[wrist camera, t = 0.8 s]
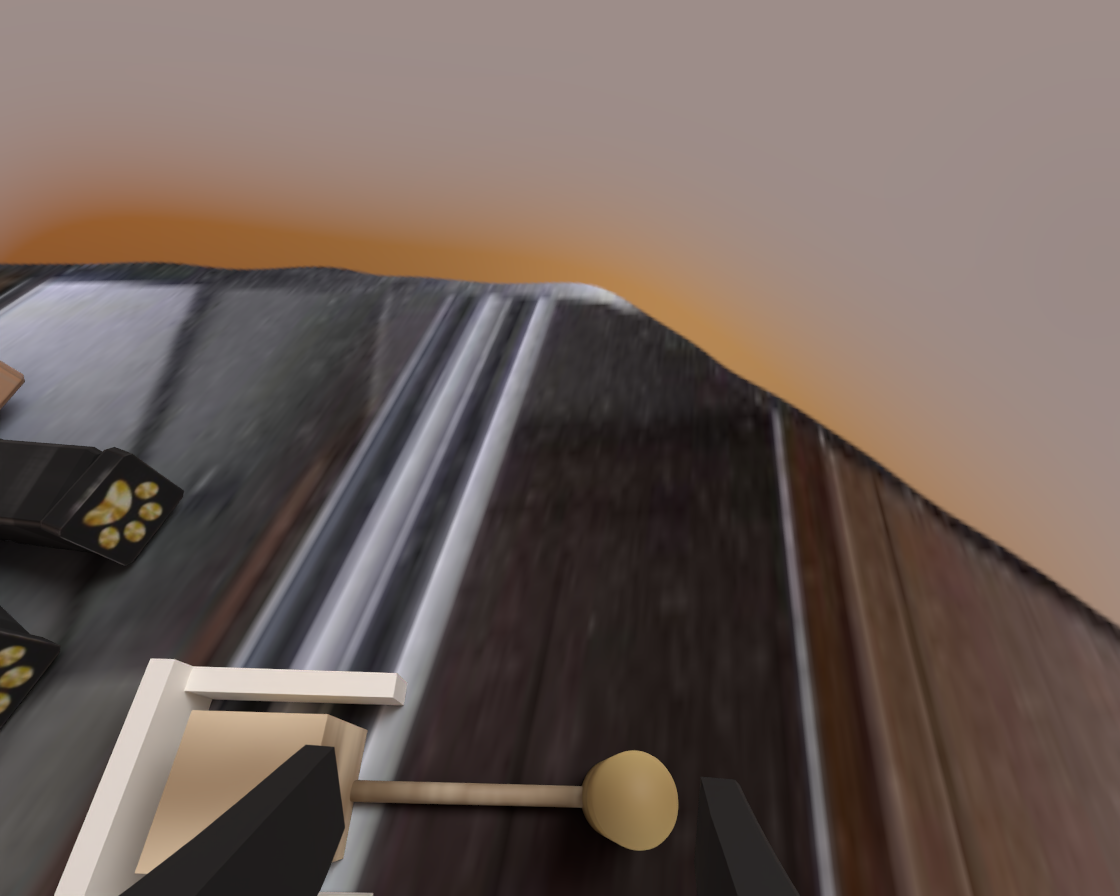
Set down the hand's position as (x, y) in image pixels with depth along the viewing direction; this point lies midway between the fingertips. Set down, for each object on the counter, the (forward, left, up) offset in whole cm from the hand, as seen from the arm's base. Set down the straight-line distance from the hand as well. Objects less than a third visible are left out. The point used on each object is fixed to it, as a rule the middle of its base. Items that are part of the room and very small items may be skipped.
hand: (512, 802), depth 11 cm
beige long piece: (0, +3, -16) cm, 17 cm away
